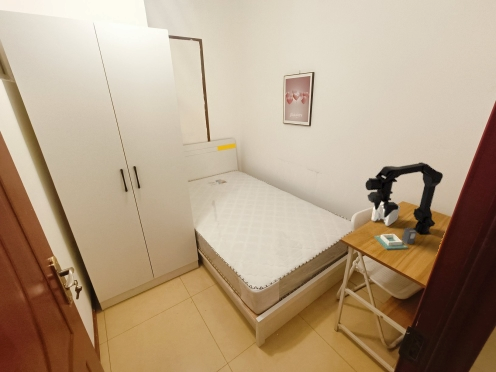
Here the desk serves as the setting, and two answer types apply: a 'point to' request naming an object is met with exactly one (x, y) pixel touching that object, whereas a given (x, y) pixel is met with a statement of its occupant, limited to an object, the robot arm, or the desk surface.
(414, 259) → the desk surface
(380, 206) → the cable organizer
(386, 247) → the board
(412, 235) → the plug
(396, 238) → the socket
